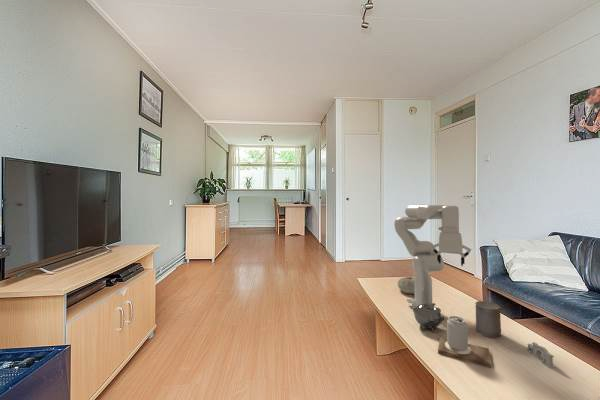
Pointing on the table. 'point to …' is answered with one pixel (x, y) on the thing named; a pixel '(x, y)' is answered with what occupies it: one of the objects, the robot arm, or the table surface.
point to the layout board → (466, 353)
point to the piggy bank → (428, 315)
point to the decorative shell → (407, 285)
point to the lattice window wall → (538, 352)
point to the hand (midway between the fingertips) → (450, 264)
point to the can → (457, 333)
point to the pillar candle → (488, 319)
